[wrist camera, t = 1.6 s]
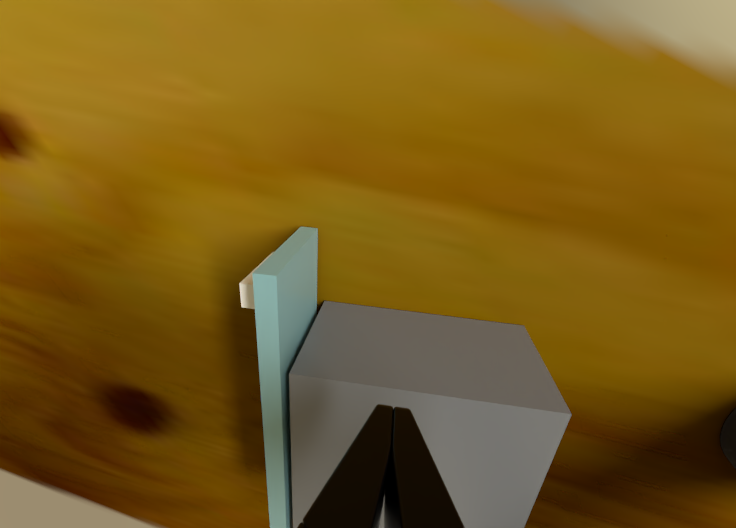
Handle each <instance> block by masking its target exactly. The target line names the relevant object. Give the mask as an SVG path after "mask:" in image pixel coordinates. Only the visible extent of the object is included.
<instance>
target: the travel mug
mask: <svg viewBox="0 0 736 528" xmlns="http://www.w3.org/2000/svg"><path fill="white" fill-rule="evenodd" d="M720 443H721V447H722V450H723V452H724V454H725V456H726V457H727V459H728V460H729V461H730V463H731V464H732V465H733V466H734V468H735V469H736V408H735V409H734V411H733V412H732V413H731V414H730V415H729V417H728V418H727V419H726V421H725V423H724V425H723V427H722V430H721V434H720Z"/></svg>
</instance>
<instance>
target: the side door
mask: <svg viewBox="0 0 736 528" xmlns="http://www.w3.org/2000/svg"><path fill="white" fill-rule="evenodd" d="M317 252H318V228H310V227H300V228H299V229H298V230H297V231H296V232H295V233H294V234H292V235H291V236H290V237H289V238H288V239H287V240H286V241H285V242H284V243H283V244H282V245H281V246H280V247H279V248H278V249H277V250H276V251H275V252H272V253H271V254H270V255H269V256H268V257H267V258H266V259H265V260H264V261H262V262H261V263H260V264H259V265H258V266H257V267H256V268H255V269H254V270H253V271H252V272H251V273H250V274H249V275H248V276H247V277H246V278H245V279H243V280H242V281H241V282H240V283H239V286H240V297H241V307H242V308H250V309H255V319H256V333H257V348H258V362H259V376H260V391H261V405H262V419H263V434H264V448H265V462H266V477H267V491H268V505H269V520H270V528H293V508H292V468H291V429H290V390H289V373H290V371H291V369H292V367H293V365H294V363H295V361H296V358H297V356H298V354H299V352H300V350H301V348H302V346H303V344H304V342H305V340H306V338H307V336H308V334H309V332H310V330H311V327H312V325H313V323H314V321H315V319H316V317H317Z"/></svg>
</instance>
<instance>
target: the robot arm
mask: <svg viewBox="0 0 736 528" xmlns="http://www.w3.org/2000/svg"><path fill="white" fill-rule="evenodd" d="M384 495H385V497H384ZM383 502H384V528H465V527H464V525H463V523H462V521H461V518H460V516H459V514H458V512H457V510H456V508H455V505H454V503H453V501H452V499H451V497H450V494H449V492H448V490H447V488H446V486H445V484H444V481H443V479H442V477H441V475H440V473H439V471H438V468H437V466H436V464H435V462H434V460H433V457H432V455H431V453H430V451H429V449H428V447H427V444H426V442H425V440H424V438H423V436H422V434H421V431H420V429H419V427H418V425H417V423H416V420H415V418H414V416H413V414H412V412H411V410H410V409H409V408H403V407H394V409H393V407H392V406H390V405H383V404H378V405H376V407H375V408H374V410H373V411H372V413H371V414H370V416H369V417H368V419H367V420H366V422H365V424H364V425H363V427H362V428H361V430H360V431H359V433H358V434H357V436H356V437H355V439H354V441H353V442H352V444H351V445H350V447H349V448H348V450H347V451H346V453H345V454H344V456H343V458H342V459H341V461H340V462H339V464H338V465H337V467H336V468H335V470H334V472H333V473H332V475H331V476H330V478H329V479H328V481H327V482H326V484H325V485H324V487H323V489H322V490H321V492H320V493H319V495H318V496H317V498H316V499H315V501H314V502H313V504H312V506H311V507H310V509H309V510H308V512H307V513H306V515H305V516H304V518H303V522H301V523H300V524H299V525H298V527H297V528H379V524H380V519H381V514H382V508H383Z"/></svg>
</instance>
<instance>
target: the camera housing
mask: <svg viewBox="0 0 736 528" xmlns="http://www.w3.org/2000/svg"><path fill="white" fill-rule="evenodd" d="M289 390H290V429H291V468H292V508H293V528H297V527H298V525H299V524H300V523H301V522H303V518H304V516H305V515H306V513H307V512H308V510H309V509H310V507H311V506H312V504H313V502H314V501H315V499H316V498H317V496H318V495H319V493H320V492H321V490H322V489H323V487H324V485H325V484H326V482H327V481H328V479H329V478H330V476H331V475H332V473H333V472H334V470H335V468H336V467H337V465H338V464H339V462H340V461H341V459H342V458H343V456H344V454H345V453H346V451H347V450H348V448H349V447H350V445H351V444H352V442H353V441H354V439H355V437H356V436H357V434H358V433H359V431H360V430H361V428H362V427H363V425H364V424H365V422H366V420H367V419H368V417H369V416H370V414H371V413H372V411H373V410H374V408H375V407H376V405H378V404H383V405H390V406H392V407H393V409H394V407H403V408H409V409H410V410H411V412H412V414H413V416H414V418H415V420H416V423H417V425H418V427H419V429H420V431H421V434H422V436H423V438H424V440H425V442H426V444H427V447H428V449H429V451H430V453H431V455H432V457H433V460H434V462H435V464H436V466H437V468H438V471H439V473H440V475H441V477H442V479H443V481H444V484H445V486H446V488H447V490H448V492H449V494H450V497H451V499H452V501H453V503H454V505H455V508H456V510H457V512H458V514H459V516H460V518H461V521H462V523H463V525H464V527H465V528H524V526H525V524H526V522H527V519H528V517H529V515H530V512H531V510H532V507H533V505H534V503H535V500H536V498H537V496H538V493H539V491H540V488H541V486H542V484H543V481H544V479H545V477H546V474H547V472H548V469H549V467H550V465H551V462H552V460H553V458H554V455H555V453H556V450H557V448H558V446H559V443H560V441H561V439H562V436H563V434H564V431H565V429H566V427H567V424H568V422H569V420H570V417H571V415H572V414H571V412H570V410H569V408H568V406H567V405H566V403H565V401H564V399H563V397H562V395H561V394H560V392H559V390H558V388H557V386H556V384H555V382H554V381H553V379H552V377H551V375H550V373H549V371H548V370H547V368H546V366H545V364H544V362H543V360H542V358H541V357H540V355H539V353H538V351H537V349H536V347H535V346H534V344H533V342H532V340H531V338H530V336H529V335H528V333H527V331H526V329H525V327H524V326H523V325H515V324H507V323H499V322H491V321H482V320H474V319H466V318H458V317H450V316H442V315H434V314H426V313H418V312H410V311H402V310H394V309H386V308H378V307H370V306H362V305H354V304H346V303H338V302H330V301H324V303H323V305H322V307H321V309H320V311H319V313H318V315H317V317H316V319H315V321H314V323H313V325H312V327H311V330H310V332H309V334H308V336H307V338H306V340H305V342H304V344H303V346H302V348H301V350H300V352H299V354H298V356H297V358H296V361H295V363H294V365H293V367H292V369H291V371H290V373H289ZM384 497H385V495H384ZM379 528H384V502H383V508H382V514H381V519H380V524H379Z"/></svg>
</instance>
